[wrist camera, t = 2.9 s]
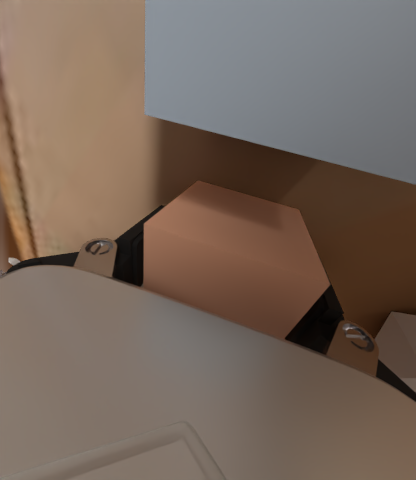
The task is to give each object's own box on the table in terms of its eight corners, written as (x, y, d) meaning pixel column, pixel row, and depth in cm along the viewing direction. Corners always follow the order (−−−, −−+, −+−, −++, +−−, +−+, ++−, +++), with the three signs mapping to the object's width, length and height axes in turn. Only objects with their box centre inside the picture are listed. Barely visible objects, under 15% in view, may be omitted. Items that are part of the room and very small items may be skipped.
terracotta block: (198, 180, 11) (143, 223, 6) (298, 209, 10) (330, 284, 5) (185, 256, 14) (143, 324, 9) (260, 281, 14) (258, 369, 9)
